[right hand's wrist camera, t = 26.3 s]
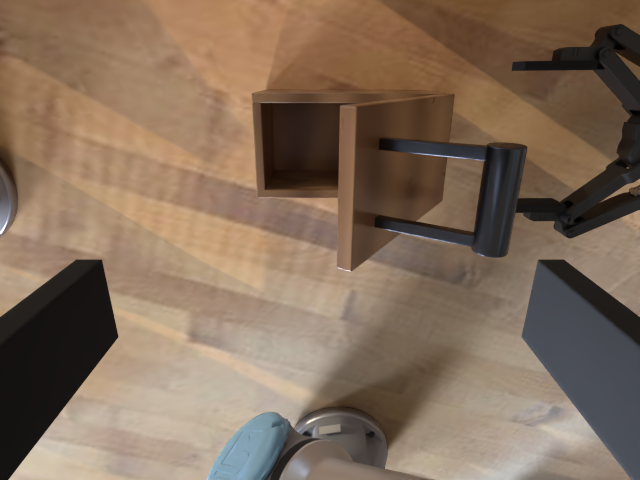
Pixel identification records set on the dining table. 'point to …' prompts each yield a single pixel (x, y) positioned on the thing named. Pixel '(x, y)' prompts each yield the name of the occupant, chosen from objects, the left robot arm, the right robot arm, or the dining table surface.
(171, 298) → the dining table surface
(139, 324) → the dining table surface
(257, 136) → the chest
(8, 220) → the right robot arm
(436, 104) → the door
